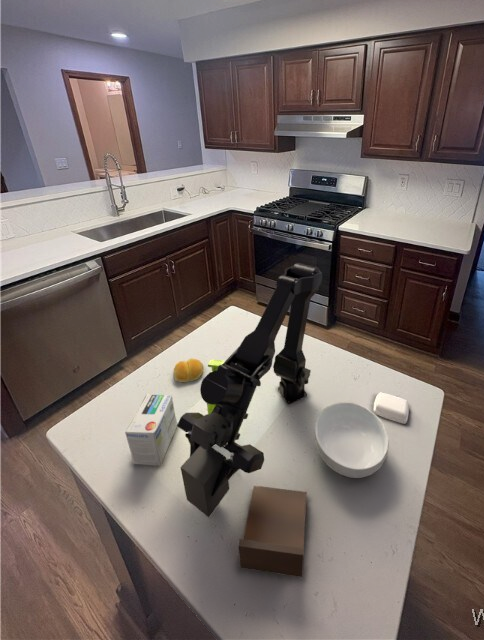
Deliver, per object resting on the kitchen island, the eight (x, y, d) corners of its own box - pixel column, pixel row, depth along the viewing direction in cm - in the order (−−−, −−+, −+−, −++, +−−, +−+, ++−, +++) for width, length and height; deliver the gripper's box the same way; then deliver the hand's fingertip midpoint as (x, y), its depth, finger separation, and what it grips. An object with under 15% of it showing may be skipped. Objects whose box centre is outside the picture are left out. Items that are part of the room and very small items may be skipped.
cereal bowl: (302, 433, 79) (303, 413, 76) (358, 413, 85) (360, 393, 82) (336, 503, 65) (338, 481, 62) (400, 472, 70) (405, 451, 68)
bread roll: (205, 378, 95) (204, 368, 94) (174, 386, 93) (173, 376, 91) (202, 361, 103) (200, 351, 101) (173, 367, 100) (172, 358, 98)
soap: (372, 413, 85) (373, 405, 84) (376, 395, 90) (377, 387, 89) (407, 425, 81) (408, 417, 80) (408, 405, 87) (410, 398, 86)
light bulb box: (152, 424, 81) (146, 393, 77) (178, 425, 81) (172, 394, 77) (132, 465, 71) (123, 432, 67) (161, 466, 71) (154, 433, 67)
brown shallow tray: (254, 494, 66) (253, 472, 63) (306, 500, 65) (307, 479, 62) (240, 568, 55) (238, 545, 52) (302, 577, 54) (303, 555, 51)
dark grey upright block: (208, 473, 67) (203, 441, 63) (229, 489, 64) (226, 456, 60) (186, 499, 62) (180, 467, 58) (208, 518, 59) (203, 485, 55)
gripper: (178, 383, 62) (139, 467, 58) (253, 426, 53) (213, 529, 49) (210, 386, 72) (178, 459, 67) (278, 424, 63) (246, 510, 58)
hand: (201, 486), depth 60 cm, fingers closed on dark grey upright block, 6 cm apart
